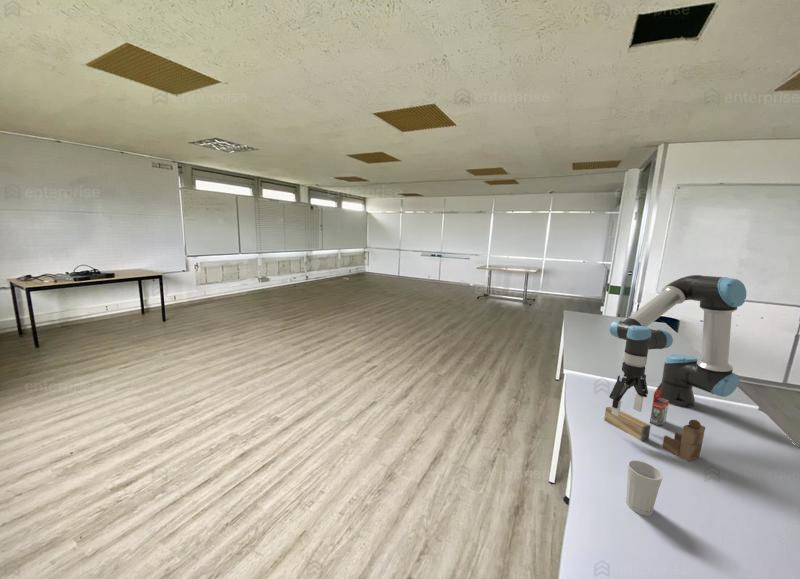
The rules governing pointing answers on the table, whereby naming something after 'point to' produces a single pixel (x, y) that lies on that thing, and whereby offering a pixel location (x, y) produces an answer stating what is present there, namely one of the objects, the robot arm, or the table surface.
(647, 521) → the table surface
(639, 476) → the cup
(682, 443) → the brown domed block
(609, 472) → the table surface
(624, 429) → the rail
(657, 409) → the ink box
